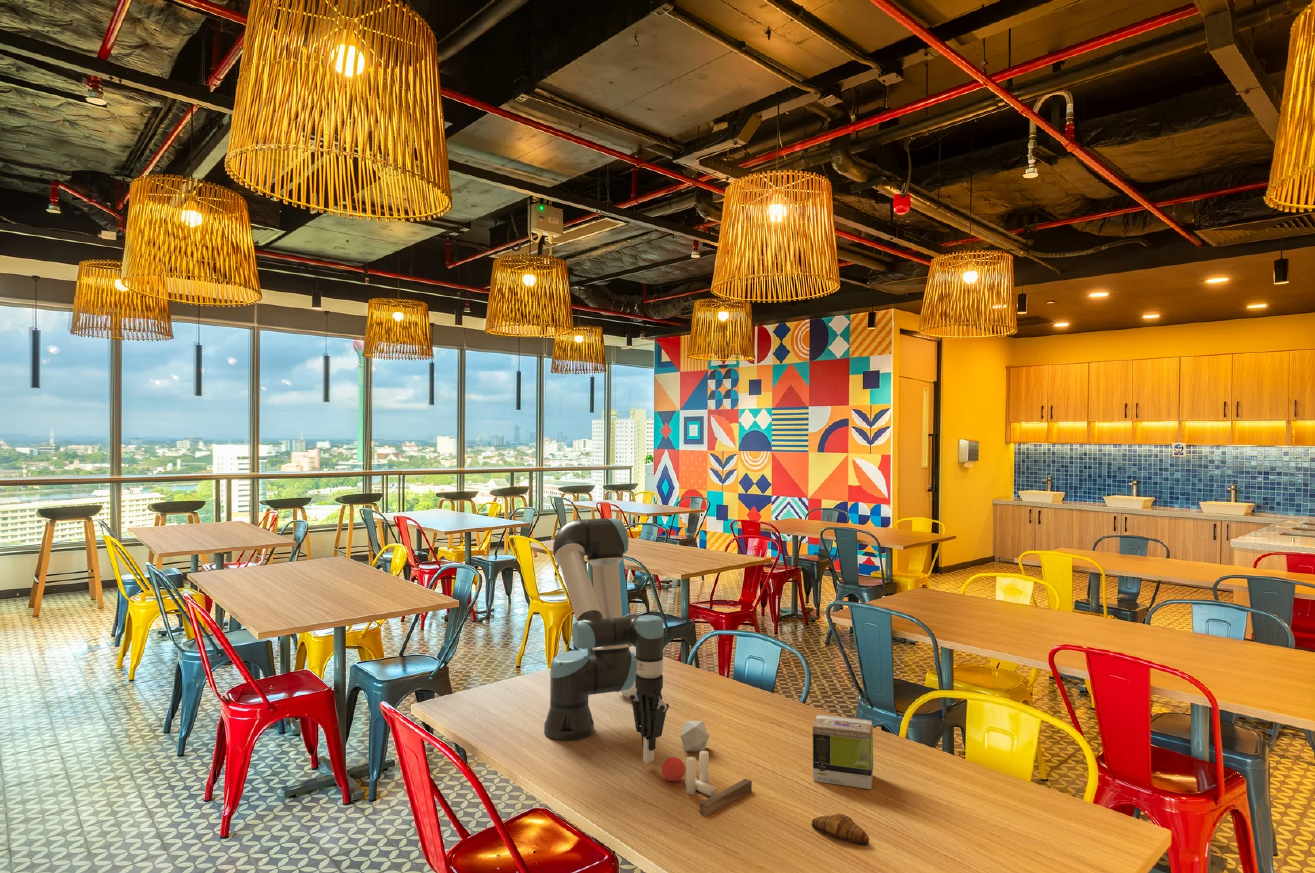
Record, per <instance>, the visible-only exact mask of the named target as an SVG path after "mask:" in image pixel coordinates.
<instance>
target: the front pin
mask: <svg viewBox="0 0 1315 873" xmlns="http://www.w3.org/2000/svg"><path fill="white" fill-rule="evenodd" d="M684 785H685V786H686V778H685V779H684ZM696 791H697V792H700V793H702V794H704V795H706V796H709V797H712V796H714V795H716V794H717V787H715V786H714V785H711V784H709V783H708V784H707V783H704V782H702V781H700V780H699V779H697V778H696Z"/></svg>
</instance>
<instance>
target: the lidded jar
mask: <svg viewBox="0 0 1315 873" xmlns="http://www.w3.org/2000/svg"><path fill="white" fill-rule="evenodd" d="M635 681H636V679H635ZM636 691H637V689H636V687H635V682H634V684H633V686H632V687H631V688H630V689H628V690H623V691H620V693H621V694H622V695H623V697H625V698H627V699H630V695H633V694H636Z"/></svg>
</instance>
